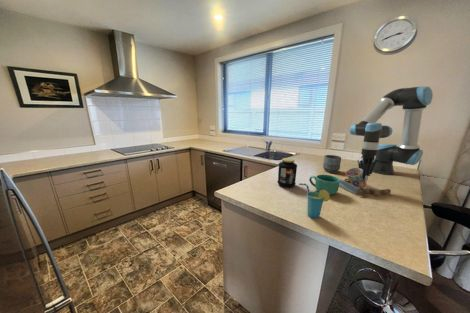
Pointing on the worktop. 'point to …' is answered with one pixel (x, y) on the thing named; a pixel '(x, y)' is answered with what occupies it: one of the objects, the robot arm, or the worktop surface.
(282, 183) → the container
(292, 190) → the worktop surface
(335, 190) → the mug
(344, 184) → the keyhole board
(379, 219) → the worktop surface
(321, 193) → the cup
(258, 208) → the worktop surface
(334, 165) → the planter
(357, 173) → the mug
